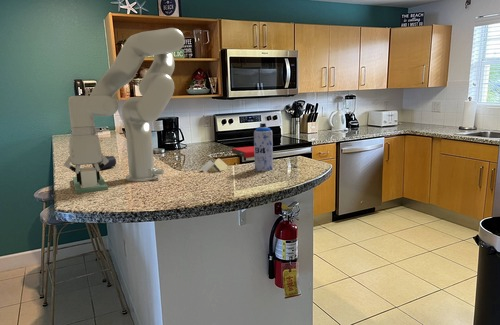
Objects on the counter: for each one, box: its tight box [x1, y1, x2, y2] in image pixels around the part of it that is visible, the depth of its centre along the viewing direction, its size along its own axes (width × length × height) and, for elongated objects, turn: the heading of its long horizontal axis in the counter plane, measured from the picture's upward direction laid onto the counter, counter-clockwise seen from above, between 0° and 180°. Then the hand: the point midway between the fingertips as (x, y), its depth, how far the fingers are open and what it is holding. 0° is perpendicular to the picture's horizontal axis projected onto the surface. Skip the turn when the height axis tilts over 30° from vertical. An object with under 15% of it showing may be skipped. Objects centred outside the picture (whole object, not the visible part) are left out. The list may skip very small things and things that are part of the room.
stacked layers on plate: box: [200, 158, 229, 173], centre depth 150 cm, size 10×9×6 cm
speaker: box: [91, 155, 117, 170], centre depth 164 cm, size 7×5×9 cm
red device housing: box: [231, 145, 255, 159], centre depth 183 cm, size 18×14×5 cm
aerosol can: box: [253, 123, 274, 172], centre depth 145 cm, size 8×8×20 cm
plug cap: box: [79, 166, 98, 188], centre depth 127 cm, size 8×5×6 cm, turn 28°
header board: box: [72, 174, 109, 195], centre depth 132 cm, size 24×10×1 cm, turn 28°
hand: (88, 182), depth 127 cm, fingers closed on plug cap, 4 cm apart
